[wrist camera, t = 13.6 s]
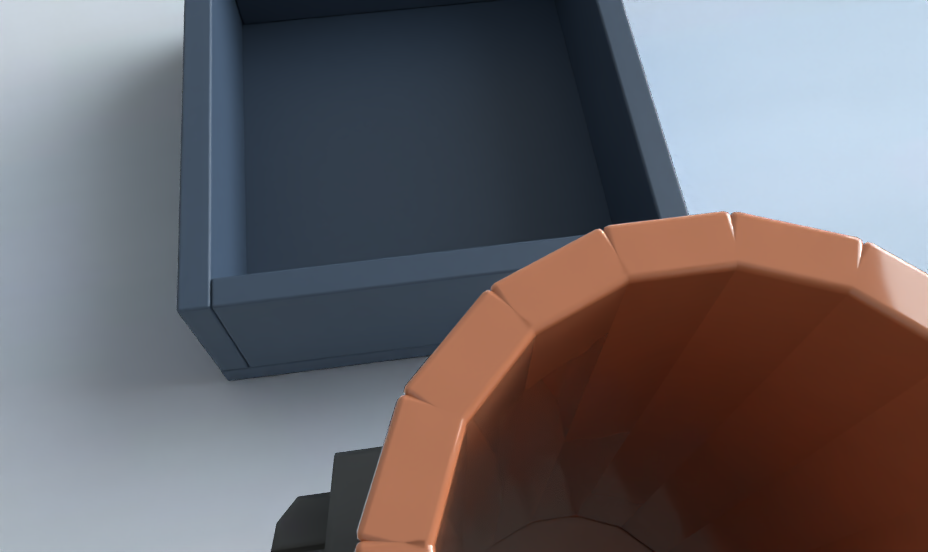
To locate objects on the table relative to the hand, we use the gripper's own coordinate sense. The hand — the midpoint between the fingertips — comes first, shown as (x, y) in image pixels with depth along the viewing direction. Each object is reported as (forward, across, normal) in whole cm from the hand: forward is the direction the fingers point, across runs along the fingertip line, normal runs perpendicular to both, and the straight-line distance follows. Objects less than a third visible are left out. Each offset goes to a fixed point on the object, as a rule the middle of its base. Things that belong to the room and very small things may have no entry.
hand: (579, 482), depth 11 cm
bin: (+17, +1, -2) cm, 17 cm away
